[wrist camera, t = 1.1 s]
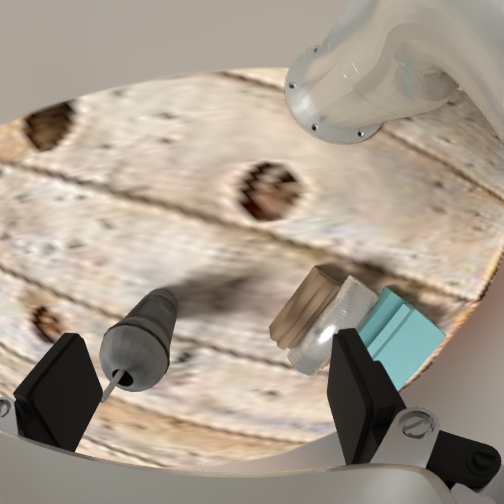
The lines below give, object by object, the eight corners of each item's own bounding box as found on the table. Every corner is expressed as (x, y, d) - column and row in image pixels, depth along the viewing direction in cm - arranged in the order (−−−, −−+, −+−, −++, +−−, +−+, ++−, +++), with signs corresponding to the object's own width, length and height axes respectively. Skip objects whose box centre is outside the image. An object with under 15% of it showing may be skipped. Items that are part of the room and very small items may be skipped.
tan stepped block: (314, 265, 38) (321, 277, 34) (366, 299, 40) (376, 313, 36) (269, 326, 40) (271, 343, 36) (321, 354, 42) (327, 371, 38)
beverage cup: (140, 328, 40) (84, 433, 21) (131, 279, 38) (54, 371, 19) (191, 328, 40) (158, 445, 21) (185, 278, 38) (136, 381, 19)
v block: (385, 286, 39) (405, 306, 33) (428, 317, 41) (449, 338, 35) (332, 352, 42) (343, 379, 36) (379, 376, 44) (393, 401, 38)
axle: (344, 270, 35) (356, 284, 31) (371, 288, 36) (384, 303, 32) (285, 346, 38) (289, 366, 34) (312, 360, 39) (318, 380, 34)
